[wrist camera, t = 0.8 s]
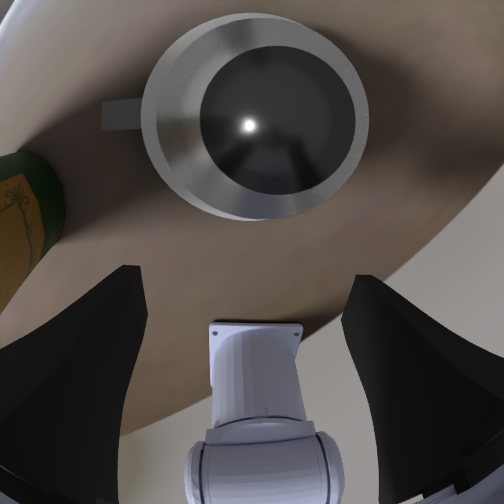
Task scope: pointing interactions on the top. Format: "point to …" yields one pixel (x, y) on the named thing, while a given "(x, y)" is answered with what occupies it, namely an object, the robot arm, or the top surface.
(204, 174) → the knobbed lid
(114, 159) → the top surface
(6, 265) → the bottle
